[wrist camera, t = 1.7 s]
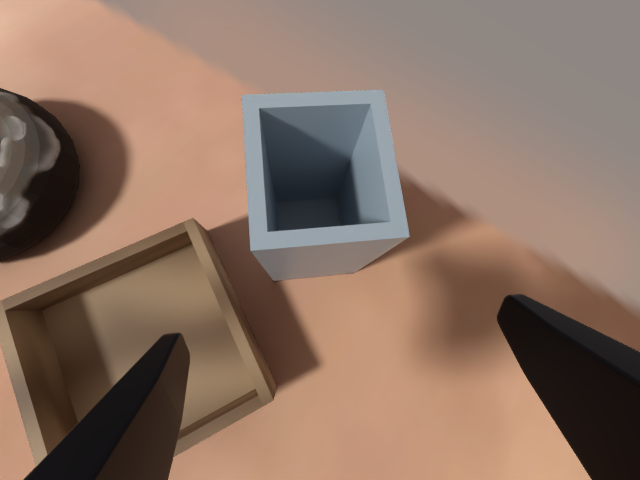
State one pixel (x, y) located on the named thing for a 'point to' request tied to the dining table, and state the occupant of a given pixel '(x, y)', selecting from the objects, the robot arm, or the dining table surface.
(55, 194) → the donut
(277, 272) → the tall grey bin
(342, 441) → the dining table surface
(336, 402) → the dining table surface
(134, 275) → the shallow brown tray
